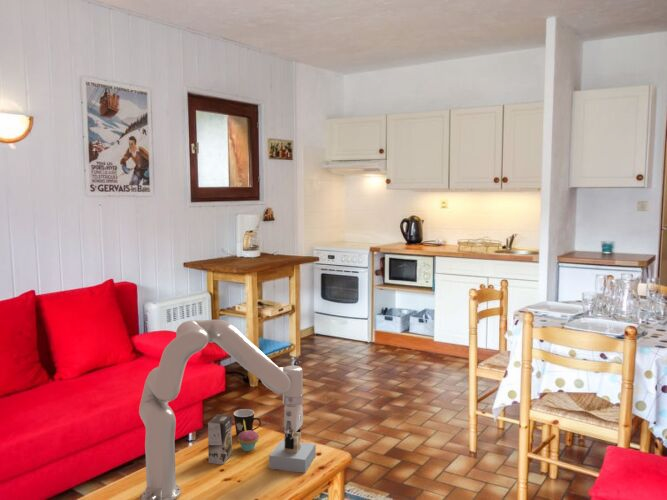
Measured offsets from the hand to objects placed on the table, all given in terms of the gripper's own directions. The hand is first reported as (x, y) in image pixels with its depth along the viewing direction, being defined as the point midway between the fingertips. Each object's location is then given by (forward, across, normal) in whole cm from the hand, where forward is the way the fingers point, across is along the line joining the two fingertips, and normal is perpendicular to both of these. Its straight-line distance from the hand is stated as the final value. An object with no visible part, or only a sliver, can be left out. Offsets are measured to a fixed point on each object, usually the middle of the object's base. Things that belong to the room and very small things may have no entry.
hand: (292, 443), depth 223 cm
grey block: (+7, 0, 0) cm, 7 cm away
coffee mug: (+8, +17, +26) cm, 32 cm away
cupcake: (+8, +7, +21) cm, 23 cm away
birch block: (+2, 0, 0) cm, 2 cm away
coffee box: (+8, -4, +28) cm, 29 cm away
